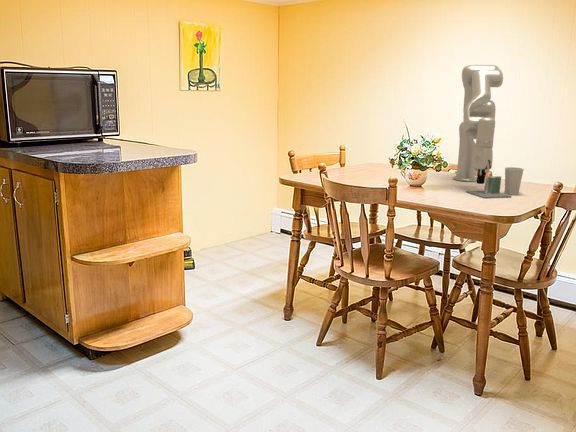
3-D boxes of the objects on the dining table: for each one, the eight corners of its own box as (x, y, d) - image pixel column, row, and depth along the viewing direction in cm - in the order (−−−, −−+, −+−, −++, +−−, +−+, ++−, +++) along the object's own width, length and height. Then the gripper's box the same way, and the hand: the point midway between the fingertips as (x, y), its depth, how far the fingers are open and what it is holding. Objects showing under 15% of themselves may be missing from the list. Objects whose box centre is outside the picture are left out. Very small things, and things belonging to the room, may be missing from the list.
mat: (465, 192, 253) (465, 190, 253) (491, 191, 256) (491, 190, 256) (484, 198, 239) (484, 197, 239) (511, 197, 242) (511, 196, 242)
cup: (508, 195, 247) (511, 169, 244) (499, 192, 254) (501, 167, 252) (524, 195, 248) (527, 169, 246) (513, 191, 256) (516, 167, 253)
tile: (485, 176, 246) (499, 176, 248) (483, 193, 248) (497, 192, 249) (488, 176, 244) (501, 176, 246) (486, 194, 246) (499, 193, 248)
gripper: (468, 143, 255) (464, 181, 259) (486, 146, 241) (482, 186, 245) (482, 143, 257) (478, 180, 261) (501, 146, 243) (496, 186, 247)
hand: (480, 183), depth 253 cm, fingers closed
